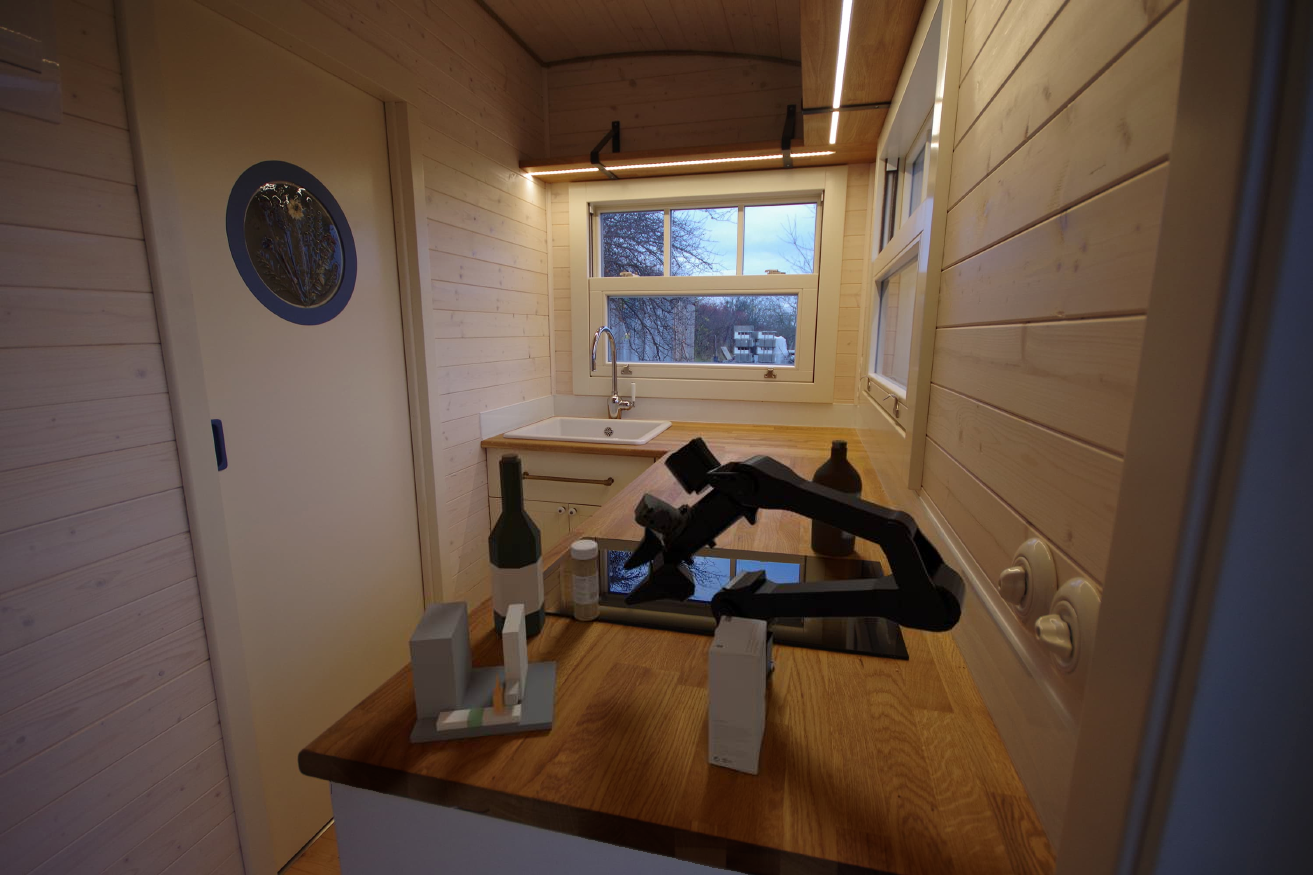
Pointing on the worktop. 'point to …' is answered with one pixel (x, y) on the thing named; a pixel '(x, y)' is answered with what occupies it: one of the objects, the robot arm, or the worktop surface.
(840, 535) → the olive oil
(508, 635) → the white tall block
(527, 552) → the wine bottle
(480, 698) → the base
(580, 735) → the worktop surface
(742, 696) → the skincare box
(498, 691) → the orange block with rod
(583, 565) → the sprinkles bottle
